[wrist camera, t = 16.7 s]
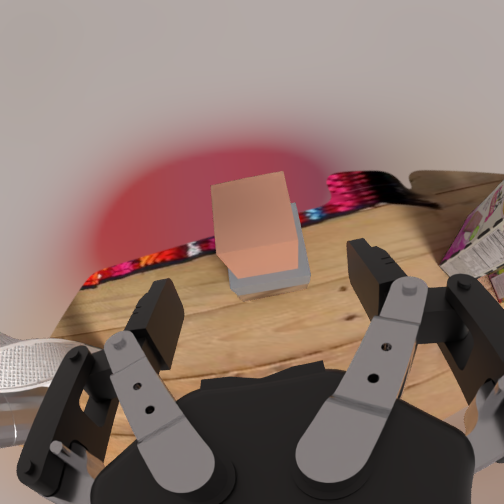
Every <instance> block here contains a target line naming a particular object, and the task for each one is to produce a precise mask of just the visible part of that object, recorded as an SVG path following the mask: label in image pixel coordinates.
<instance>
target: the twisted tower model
mask: <svg viewBox="0 0 504 504" xmlns="http://www.w3.org/2000/svg"><path fill="white" fill-rule="evenodd" d="M79 345H84V346H86V347H87V348H88V349H89V351H90V352H91V353H94V352H97V351H100V350H103V349H101V348H98V347H94V346H91V345H87V344H84V343H80V342H77V341H71V340H65V339H56V338H36V339H28V340H19V339H14V338H12V337H10V336H7V335H5V334H3V333H1V332H0V393H5V392H16V391H23V390H28V389H33V388H37V387H41V386H44V387H49V386H50V384H51V382H52V380H53V378H54V376H55V374H56V372H57V370H58V368H59V366H60V364H61V362H62V360H63V358H64V356H65V355H66V354H67V352H68V351H70V350H71V349H72V348H74V347H76V346H79Z"/></svg>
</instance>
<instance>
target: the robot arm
mask: <svg viewBox="0 0 504 504" xmlns="http://www.w3.org/2000/svg"><path fill="white" fill-rule="evenodd" d="M347 259H348V273H349V279H350V282H351V285H352V287H353V289H354V291H355V293H356V294H357V296H358V298H359V300H360V302H361V304H362V306H363V308H364V309H365V311H366V313H367V315H368V317H369V319H370V321H371V323H370V325H369V327H368V330H367V332H366V334H365V336H364V338H363V340H362V342H361V344H360V346H359V348H358V350H357V352H356V354H355V356H354V358H353V360H352V362H351V364H350V366H349V368H348V369H347V371H344V370H338V369H325V367H324V363H323V360H322V361H317V362H313V363H308V364H303V365H298V366H293V367H290V368H288V369H285V370H283V371H280V372H278V373H275V374H272V375H270V376H267V377H264V378H242V377H222V378H213V379H203V380H201V386H200V389H198V390H195V391H192V392H190V393H188V394H186V395H185V396H183V397H181V398H180V399H179V400H177V401H176V400H175V398H174V397H173V395H172V394H171V392H170V391H169V389H168V388H167V386H166V385H165V383H164V382H163V380H162V379H161V377H160V376H159V372H160V370H170V369H171V365H172V361H173V357H174V353H175V349H176V346H177V342H178V338H179V335H180V331H181V327H182V324H183V320H184V309H183V305H182V303H181V301H180V298H179V296H178V294H177V291H176V289H175V287H174V284H173V282H172V280H171V279H170V278H167V279H162V280H157V281H154V282H153V284H152V286H151V288H150V290H149V292H148V293H146V294H145V295H144V296H143V297H142V298H141V299H140V300H139V302H138V304H137V305H136V309H134V311H133V314H132V315H131V317H130V319H129V321H128V323H127V325H126V327H125V329H124V331H121V332H118V333H116V334H114V335H112V336H111V337H110V338H109V339H108V340H107V341H106V343H105V345H104V349H103V350H100V351H97V352H94V353H91V352H90V351H89V349H88V348H87V347H86V346H84V345H79V346H76V347H74V348H72V349H71V350H70V351H68V352H67V354H66V355H65V356H64V358H63V360H62V362H61V364H60V366H59V368H58V370H57V372H56V374H55V376H54V378H53V380H52V382H51V384H50V386H49V387H44V386H41V387H37V388H33V389H28V390H23V391H16V392H5V393H0V448H5V447H11V446H17V445H23V444H24V447H23V449H22V452H21V455H20V458H19V461H18V464H17V476H18V479H19V480H20V481H21V482H22V483H23V484H25V485H26V486H28V487H29V488H31V489H32V490H34V491H36V492H37V493H38V494H39V495H41V496H42V497H44V498H46V499H48V500H49V501H51V502H53V503H55V504H471V488H472V480H473V475H474V474H475V473H476V472H478V471H480V470H482V469H484V468H486V467H487V466H489V465H491V464H492V463H494V462H497V463H504V309H503V308H502V307H501V306H500V304H499V303H498V302H497V301H496V300H495V299H494V298H493V296H492V295H491V294H490V293H489V292H488V291H487V290H486V289H485V288H484V286H483V285H482V284H481V283H480V282H479V281H478V280H477V279H476V278H474V277H473V276H471V275H468V274H454V275H452V276H451V277H449V279H448V281H447V287H436V288H428V286H427V284H426V283H425V282H424V281H423V280H421V279H419V278H416V277H410V276H407V275H406V274H405V272H404V271H403V270H402V269H401V268H400V267H399V265H398V264H397V263H396V262H395V261H394V260H393V259H392V258H391V257H390V255H389V254H388V253H387V252H386V251H385V250H383V249H381V248H379V247H377V246H375V247H371V246H370V245H369V244H368V243H367V242H366V240H365V239H364V238H361V239H356V240H352V241H347ZM428 343H437V344H438V346H439V348H440V350H441V351H442V353H443V355H444V357H445V359H446V361H447V362H448V364H449V366H450V368H451V370H452V372H453V374H454V376H455V378H456V380H457V382H458V384H459V386H460V388H461V390H462V392H463V394H464V397H465V399H466V401H467V403H468V405H469V407H468V409H467V410H466V413H465V416H464V423H465V428H466V434H464V433H463V432H462V431H460V430H459V429H457V428H456V427H454V426H452V425H450V424H448V423H446V422H444V421H442V420H440V419H438V418H436V417H434V416H432V415H430V414H428V413H426V412H424V411H422V410H420V409H419V408H417V407H415V406H413V405H411V404H409V403H407V402H405V401H403V400H402V399H401V398H402V395H403V392H404V389H405V386H406V383H407V380H408V376H409V373H410V370H411V367H412V364H413V360H414V357H415V354H416V350H417V346H418V344H428ZM83 389H84V390H85V391H86V392H87V394H88V395H89V399H88V402H87V404H86V407H85V410H84V412H83V411H82V410H81V408H80V405H79V399H80V396H81V393H82V391H83ZM119 401H120V404H121V406H122V408H123V411H124V413H125V415H126V417H127V419H128V422H129V424H130V426H131V428H132V430H133V432H134V434H135V436H136V438H137V439H136V440H135V441H134V442H133V443H132V444H131V445H129V446H128V447H127V448H126V449H125V450H124V451H123V452H122V453H121V454H120V455H118V456H117V457H116V458H115V459H114V460H113V461H112V462H111V463H110V464H108V465H107V466H106V467H105V466H104V464H103V463H104V458H105V454H106V450H107V446H108V441H109V437H110V433H111V429H112V426H113V422H114V418H115V414H116V411H117V407H118V404H119Z"/></svg>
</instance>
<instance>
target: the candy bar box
mask: <svg viewBox="0 0 504 504" xmlns="http://www.w3.org/2000/svg"><path fill="white" fill-rule="evenodd" d="M439 266H440V268H441V269H442V270H443V271H444V272H445V273H446V274H447V275H448V276H449V277H451V276H452V275H454V274H468V275H471V276H473V277H474V278H476V279H478V278H480V277H482V276H484V275H486V274H488V273H490V272H493V271H494V270H496V269H498V268H500V267H502V266H504V180H503V181H502V182H501V183H500V184H499V185H498V186H497V187H496V189H495V190H494V191H493V192H492V193H491V194H490V195H489V196H488V197H487V198H486V199H485V200H484V201H483V202H482V203H481V204H480V205H479V206H478V207H477V208H476V209H475V210H473V211H472V212H471V213H470V214H469V215H468V217H467V219H466V221H465V223H464V224H463V226H462V228H461V230H460V232H459V233H458V235H457V237H456V238H455V240H454V242H453V243H452V245H451V247H450V248H449V250H448V252H447V253H446V255H445V256H444V258H443V260H442V261H441V263H440V264H439Z"/></svg>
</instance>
